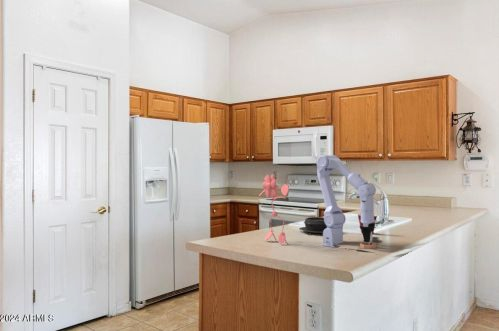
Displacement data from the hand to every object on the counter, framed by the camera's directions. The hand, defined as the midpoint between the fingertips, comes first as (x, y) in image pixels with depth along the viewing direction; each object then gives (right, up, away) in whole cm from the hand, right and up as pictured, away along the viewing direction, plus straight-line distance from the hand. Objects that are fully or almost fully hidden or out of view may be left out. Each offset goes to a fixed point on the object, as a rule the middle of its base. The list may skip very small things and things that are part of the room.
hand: (367, 240), depth 172 cm
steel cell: (0, -3, 0) cm, 3 cm away
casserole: (-13, -6, +49) cm, 51 cm away
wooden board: (+3, -4, +7) cm, 9 cm away
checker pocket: (+6, -3, +14) cm, 15 cm away
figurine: (-43, -6, +20) cm, 48 cm away
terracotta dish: (0, -3, 0) cm, 3 cm away
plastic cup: (+11, -5, +36) cm, 38 cm away
